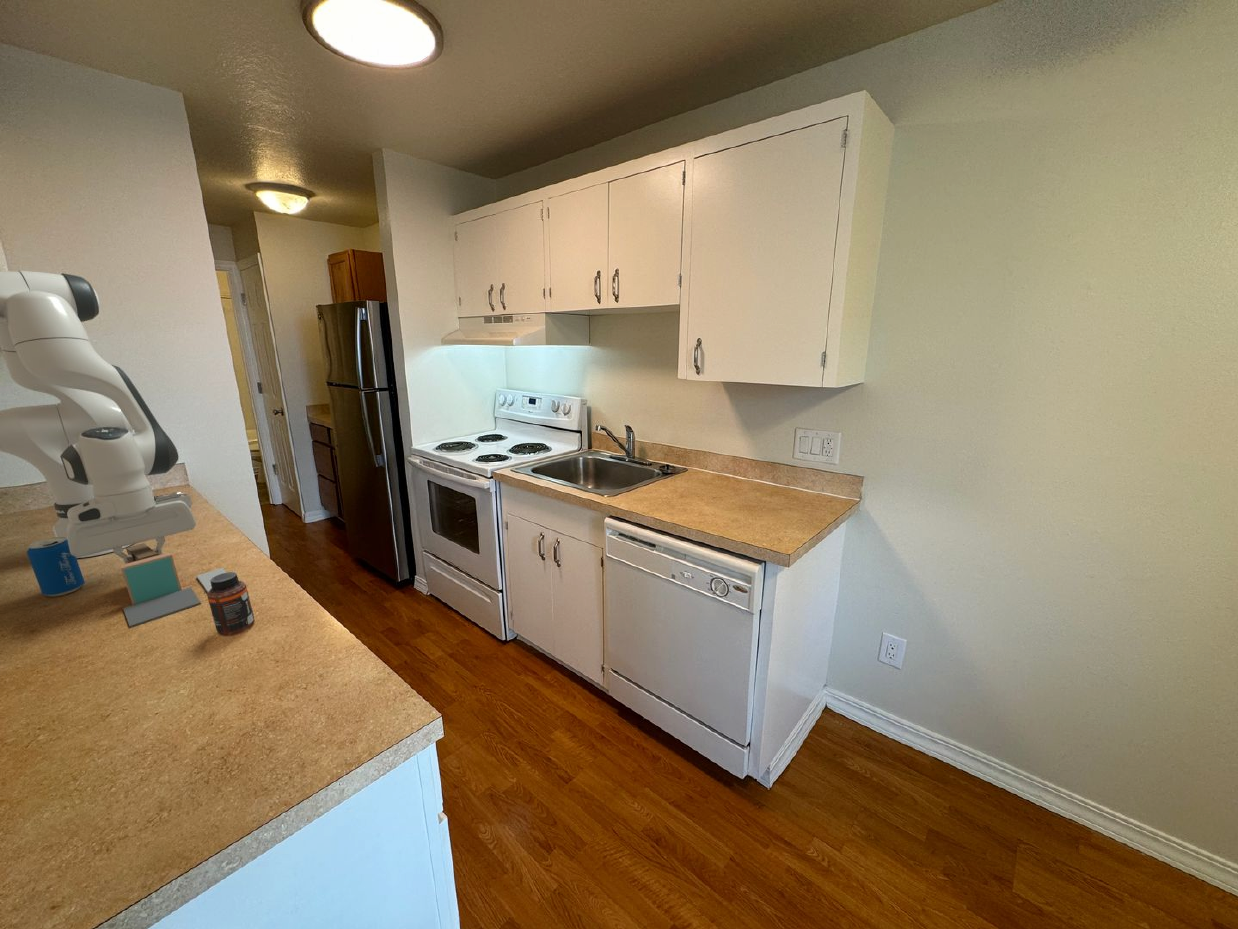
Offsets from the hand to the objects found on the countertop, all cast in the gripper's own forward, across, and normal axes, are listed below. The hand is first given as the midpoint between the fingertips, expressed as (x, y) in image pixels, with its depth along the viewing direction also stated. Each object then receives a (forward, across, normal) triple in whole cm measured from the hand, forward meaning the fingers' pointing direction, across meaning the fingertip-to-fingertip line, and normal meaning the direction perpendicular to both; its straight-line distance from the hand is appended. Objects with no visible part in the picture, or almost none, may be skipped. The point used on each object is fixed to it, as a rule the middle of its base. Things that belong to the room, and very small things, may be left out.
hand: (144, 559), depth 109 cm
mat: (+7, 0, +13) cm, 15 cm away
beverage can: (+7, +13, -13) cm, 20 cm away
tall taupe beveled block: (+2, 0, 0) cm, 2 cm away
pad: (+7, -10, +9) cm, 15 cm away
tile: (+7, 0, +7) cm, 10 cm away
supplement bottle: (+7, -8, +35) cm, 36 cm away
